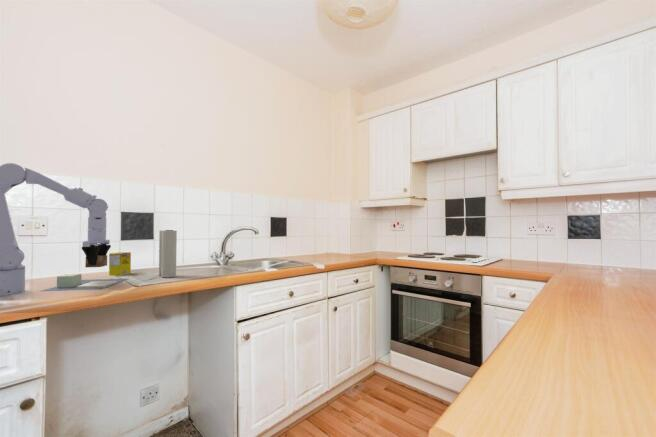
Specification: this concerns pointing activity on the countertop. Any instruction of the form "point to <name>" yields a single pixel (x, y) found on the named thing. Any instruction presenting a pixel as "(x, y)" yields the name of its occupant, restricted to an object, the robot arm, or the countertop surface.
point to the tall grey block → (167, 253)
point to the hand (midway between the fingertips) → (96, 264)
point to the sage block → (68, 280)
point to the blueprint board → (90, 285)
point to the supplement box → (120, 263)
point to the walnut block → (98, 261)
